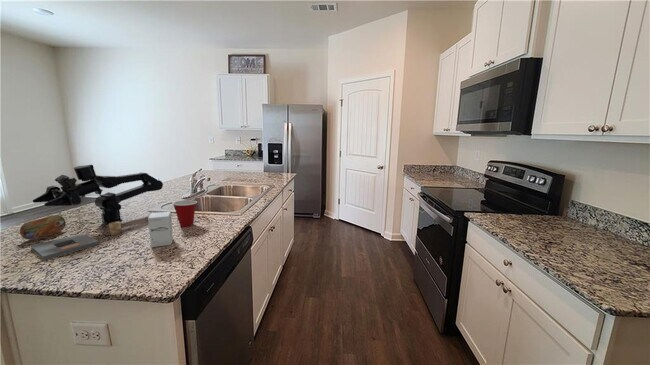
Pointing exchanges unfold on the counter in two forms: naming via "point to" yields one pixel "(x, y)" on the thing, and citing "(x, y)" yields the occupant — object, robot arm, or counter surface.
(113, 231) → the peg
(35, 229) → the tin
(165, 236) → the supplement box
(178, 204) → the plastic cup
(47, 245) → the hole plate
